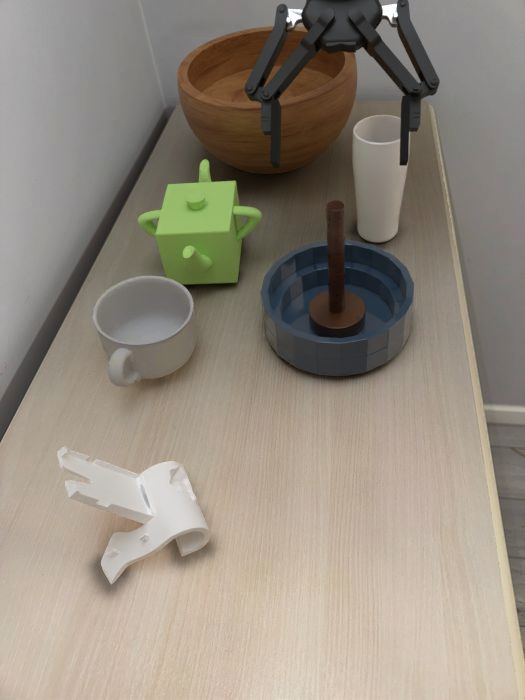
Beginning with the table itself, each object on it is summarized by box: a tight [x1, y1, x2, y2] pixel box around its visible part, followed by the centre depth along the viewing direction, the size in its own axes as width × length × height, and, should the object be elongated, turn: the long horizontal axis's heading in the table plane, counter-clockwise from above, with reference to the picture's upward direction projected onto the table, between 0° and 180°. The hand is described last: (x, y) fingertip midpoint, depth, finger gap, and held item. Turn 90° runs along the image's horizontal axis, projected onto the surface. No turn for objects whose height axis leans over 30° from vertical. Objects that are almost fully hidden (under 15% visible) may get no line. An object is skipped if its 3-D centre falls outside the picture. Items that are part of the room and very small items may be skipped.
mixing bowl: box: [260, 240, 415, 377], centre depth 76 cm, size 17×17×6 cm
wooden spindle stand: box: [309, 199, 365, 338], centre depth 72 cm, size 6×6×16 cm
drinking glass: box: [351, 114, 411, 244], centre depth 84 cm, size 7×7×15 cm
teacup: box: [91, 275, 197, 388], centre depth 74 cm, size 14×11×8 cm
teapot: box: [137, 158, 263, 286], centre depth 84 cm, size 15×13×11 cm
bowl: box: [176, 25, 358, 175], centre depth 98 cm, size 25×25×15 cm
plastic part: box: [56, 445, 212, 586], centre depth 58 cm, size 8×10×12 cm
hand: (338, 164), depth 72 cm, fingers open, 13 cm apart
